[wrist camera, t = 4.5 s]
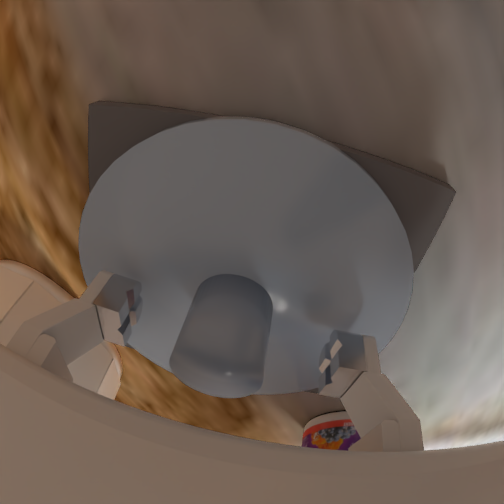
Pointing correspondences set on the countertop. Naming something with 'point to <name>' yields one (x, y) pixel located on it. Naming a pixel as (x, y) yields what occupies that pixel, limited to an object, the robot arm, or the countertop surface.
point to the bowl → (41, 300)
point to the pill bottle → (330, 432)
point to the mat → (383, 171)
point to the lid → (247, 252)
